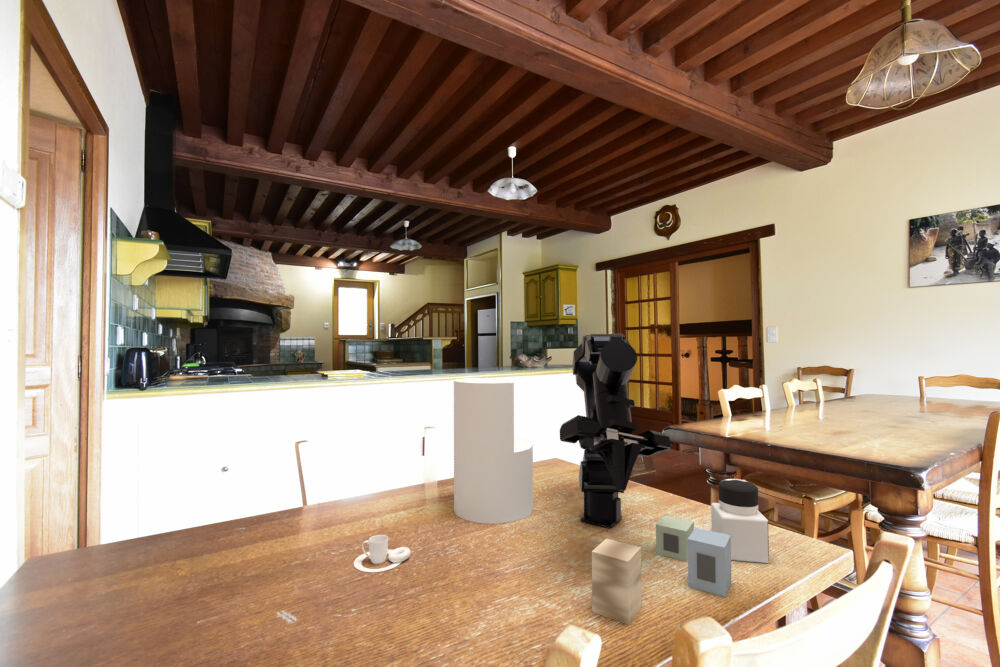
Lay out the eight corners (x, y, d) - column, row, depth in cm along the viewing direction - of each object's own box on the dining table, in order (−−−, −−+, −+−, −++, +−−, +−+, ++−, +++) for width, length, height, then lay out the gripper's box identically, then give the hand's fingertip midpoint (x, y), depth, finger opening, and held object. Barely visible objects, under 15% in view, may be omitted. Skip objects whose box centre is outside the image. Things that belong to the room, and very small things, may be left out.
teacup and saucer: (416, 556, 78) (416, 532, 78) (390, 579, 70) (390, 552, 70) (372, 549, 80) (372, 526, 80) (343, 570, 73) (343, 545, 73)
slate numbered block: (687, 587, 67) (687, 539, 67) (695, 572, 71) (695, 527, 71) (725, 598, 64) (724, 548, 64) (731, 582, 68) (730, 535, 68)
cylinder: (476, 530, 87) (475, 384, 88) (441, 503, 102) (441, 379, 103) (549, 513, 96) (548, 380, 97) (507, 490, 111) (506, 376, 112)
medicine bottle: (769, 564, 74) (768, 489, 74) (722, 560, 75) (721, 487, 75) (754, 545, 81) (753, 477, 81) (711, 541, 82) (710, 474, 82)
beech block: (592, 611, 61) (591, 551, 61) (606, 595, 65) (606, 538, 65) (628, 625, 58) (628, 561, 58) (641, 606, 62) (641, 547, 62)
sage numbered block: (655, 554, 77) (655, 524, 78) (664, 543, 82) (664, 515, 82) (686, 562, 74) (686, 531, 75) (694, 550, 79) (693, 521, 79)
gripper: (624, 421, 89) (634, 505, 81) (541, 403, 82) (543, 492, 74) (665, 401, 80) (681, 493, 72) (576, 380, 73) (582, 479, 65)
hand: (621, 490), depth 71 cm, fingers closed
